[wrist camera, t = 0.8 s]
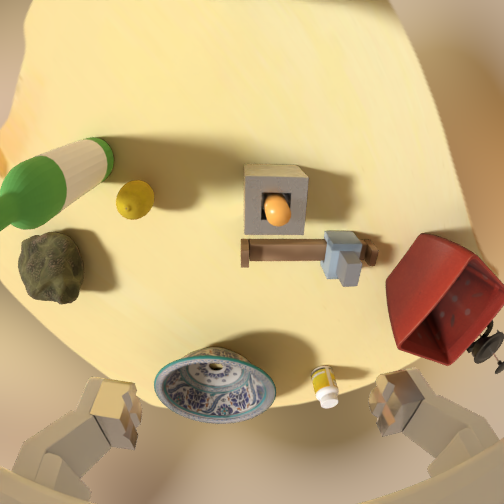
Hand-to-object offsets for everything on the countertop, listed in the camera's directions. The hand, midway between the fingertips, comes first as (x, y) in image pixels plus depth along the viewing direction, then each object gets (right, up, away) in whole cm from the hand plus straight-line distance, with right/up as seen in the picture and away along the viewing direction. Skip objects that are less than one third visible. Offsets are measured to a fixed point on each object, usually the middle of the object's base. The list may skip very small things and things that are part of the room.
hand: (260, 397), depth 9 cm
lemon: (-18, +14, +36) cm, 42 cm away
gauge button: (+3, +11, +31) cm, 33 cm away
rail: (+9, +5, +41) cm, 43 cm away
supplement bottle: (+17, -24, +58) cm, 65 cm away
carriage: (+14, +5, +42) cm, 44 cm away
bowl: (-8, -20, +54) cm, 59 cm away
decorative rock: (-39, +4, +40) cm, 56 cm away
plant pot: (+34, +1, +45) cm, 57 cm away
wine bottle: (-25, +20, +32) cm, 46 cm away
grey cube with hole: (+2, +14, +36) cm, 39 cm away
